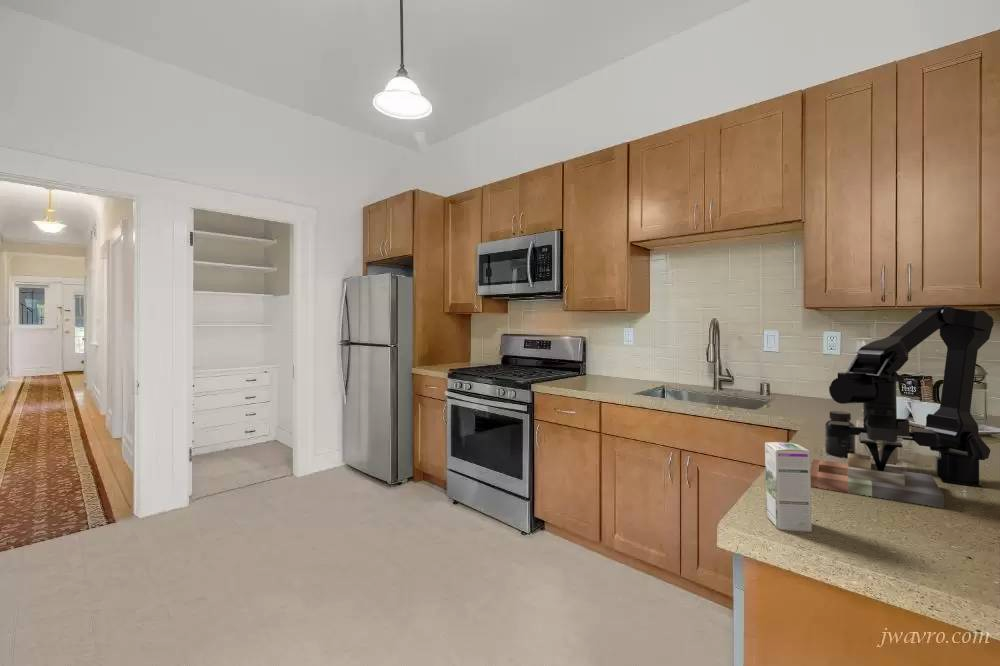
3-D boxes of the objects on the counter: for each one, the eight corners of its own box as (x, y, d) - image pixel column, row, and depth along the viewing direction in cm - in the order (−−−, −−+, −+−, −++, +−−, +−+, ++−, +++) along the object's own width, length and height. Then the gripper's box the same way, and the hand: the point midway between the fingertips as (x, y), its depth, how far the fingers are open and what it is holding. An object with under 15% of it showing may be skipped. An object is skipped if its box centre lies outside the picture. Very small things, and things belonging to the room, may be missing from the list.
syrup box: (813, 532, 80) (812, 450, 80) (776, 530, 81) (775, 448, 81) (798, 519, 85) (798, 442, 85) (764, 517, 87) (763, 441, 86)
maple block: (870, 473, 104) (869, 455, 104) (871, 477, 101) (870, 459, 101) (847, 470, 106) (847, 453, 106) (848, 474, 103) (848, 457, 103)
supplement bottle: (819, 451, 131) (819, 410, 131) (841, 451, 132) (841, 409, 132) (838, 458, 124) (838, 414, 124) (862, 457, 125) (861, 414, 125)
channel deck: (931, 486, 102) (931, 466, 102) (944, 508, 89) (944, 486, 89) (812, 468, 115) (812, 451, 115) (809, 486, 103) (809, 466, 103)
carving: (866, 461, 122) (865, 416, 122) (902, 468, 115) (901, 421, 115) (856, 465, 118) (855, 419, 118) (892, 472, 112) (892, 424, 112)
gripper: (827, 403, 100) (828, 473, 100) (944, 411, 89) (945, 490, 89) (828, 397, 109) (829, 461, 109) (934, 403, 98) (935, 475, 98)
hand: (880, 471), depth 101 cm, fingers closed
